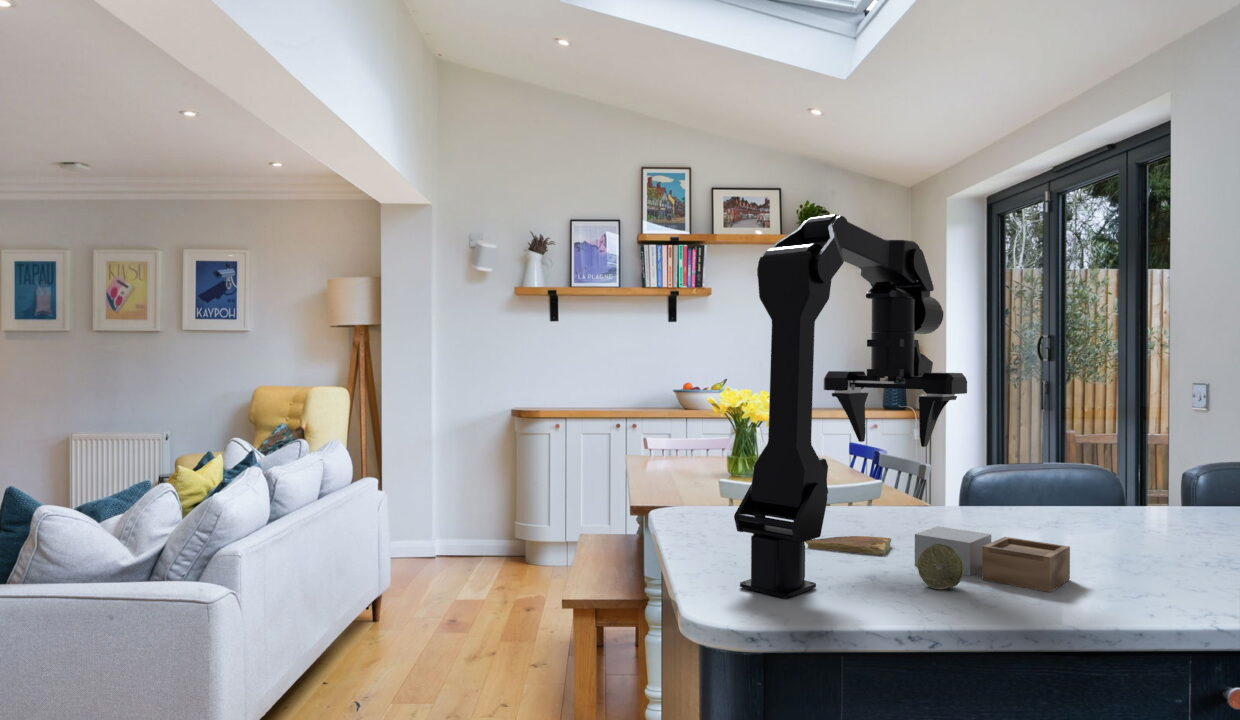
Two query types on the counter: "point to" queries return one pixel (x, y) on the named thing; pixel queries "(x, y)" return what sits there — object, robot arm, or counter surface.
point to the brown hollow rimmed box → (1026, 563)
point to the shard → (853, 544)
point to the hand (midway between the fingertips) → (892, 444)
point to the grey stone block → (955, 545)
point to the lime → (940, 567)
